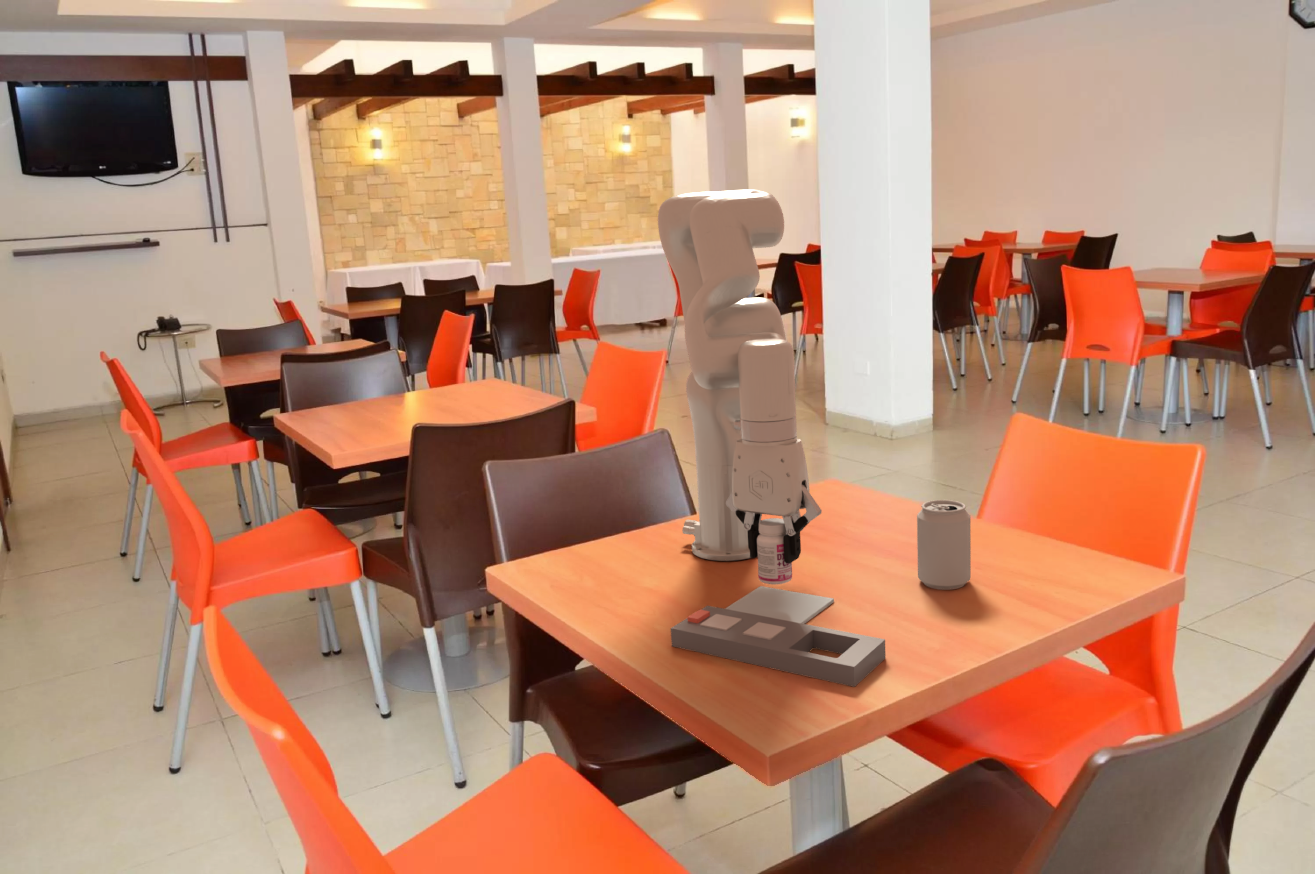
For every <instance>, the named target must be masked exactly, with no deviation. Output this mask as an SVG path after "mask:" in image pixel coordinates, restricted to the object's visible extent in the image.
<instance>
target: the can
mask: <svg viewBox="0 0 1315 874" xmlns="http://www.w3.org/2000/svg"><path fill="white" fill-rule="evenodd" d="M920 507H921V510H920V511H919V512H917V515H916V528H917V529H916V530H917V531H916V533H917V534H916V537H917V538H916V539H917V545H916V546H917V547H916V548H917V578H918V579H919V581H921V583H923V584H924V585H925V586H926V587H927V588H931V589H936V590H945V591H946V590H949V591H950V590H956V589H960V588H963V587H964V586H965V585H966V584H967V583H968V582H969V581H971V569H972V568H971V567H972V566H971V557H972V556H971V555H972V553H971V552H972V551H971V548H972V547H971V544H972V543H971V537H972V536H971V514H970V513H969V512H968V511H967V509H966V508H967V506H966V504H965V503H963V502H961V501H957V500H951V499H935V500H930V501H929V500H928V501H925V502H924V503H922V504H921V506H920Z"/></svg>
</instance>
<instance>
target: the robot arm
mask: <svg viewBox="0 0 1315 874" xmlns="http://www.w3.org/2000/svg"><path fill="white" fill-rule="evenodd" d="M657 227H658V228H657V229H658V234H659V239H660V244H661V247H662V249H663V252H664V255H665V257H666V259H667V261H668V265H669V266H670V267H671V270H672V272H673V274H674V275H675V278H676V281H677V283H678V289H679V295H680V302H681V307H682V308H681V309H682V314H683V315H682V316H683V322H684V339H685V345H686V349H687V350H686V351H687V355H688V359H689V364H690V368H691V372H690V373H689V375H688V377H687V379H686V382H685V392H686V393H685V394H686V398H687V403H688V404H687V405H688V408H689V413H690V417H691V418H690V419H691V423H692V431H693V437H694V449H695V451H694V452H695V453H694V454H695V463H696V464H695V465H696V466H695V467H696V468H695V469H696V480H697V481H696V485H697V500H698V519H699V521H697V520H695V519H693V520H692V519H686V520H685V521H684V523H683V527H682V534H684V535H693V536H694V540H693V542H692V543H691V552H692V554H693V555H695V556H696V557H698V558H701V559H705V560H710V561H717V562H719V561H720V562H732V561H742V560H748V559H756V558H758V553H757V537H758V535H759V534H760V533H759V522H760V521H761V520H762V517H763V515H769V516H776V517H777V516H778V517H782V519H783V520H784V524H785V528H786V531H787V534H786V535H785V536H784V537H783V542H784V561H785V562H786V563H789V564H790V563H791V562H792V563H793V562H795V561H796V560H798V559H799V558H800V555H801V551H802V545H801V532H802V531H803V530H804V529H805V528H806V526H808V524H809V523H810V522H812V521H813V520H814V519H816V518H817V517H818V516H820V515H821V514H822V513H823V512H822V509H821V507H820V506H819V505H818V503H817V501H816V500H815V499H814V497H813V496H812V494H811V493H810V482H809V481H810V480H809V472H808V465H807V464H808V463H807V460H806V454H805V450H804V446H803V443H802V440H801V438H798V433H797V430H798V429H797V407H796V406H797V405H796V404H797V403H796V383H795V379H796V378H795V376H796V375H795V359H794V348H793V346H792V343H791V342H789V341H788V340H787V339H786V338H787V337H786V332H785V327H784V322H783V318H782V316H781V312H780V309H779V308H778V306H777V305H776V303H775V302H774V301H772V300H771V299H769V298H765V297H759V296H758V297H755V296H754V297H748V296H750V295H751V294H752V293H753V292H754V291H755V290H756V289H757V286H758V285H759V281H760V271H759V266H758V264H757V260H756V256H755V253H754V249H762V248H772V247H776V246H777V245H779V243H780V242H781V240H782V239H783V236H784V232H785V217H784V214H783V209H782V206H781V204H780V203H779V201H778V199H777V198H776V197H775V196H774V195H773V194H771V193H770V192H766V191H762V190H759V189H734V190H731V189H730V190H721V191H720V190H719V191H717V190H716V191H700V192H697V191H696V192H687V193H682V194H677V195H674V196H671V197H669V198H667V199H665V200H664V201H663V202H662V203H661V204H660V206H659V209H658V213H657ZM804 509H805V510H806V511H805V513H804V514H803V515H801V512H800V510H804Z"/></svg>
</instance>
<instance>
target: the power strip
mask: <svg viewBox="0 0 1315 874" xmlns="http://www.w3.org/2000/svg"><path fill="white" fill-rule="evenodd" d="M670 636H671V637H670V639H671V647H675V648H678V649H682V650H687V651H693V652H696V653H701V654H706V655H710V656H715V657H718V658H724V659H727V660H728V659H729V660H732V661H737V662H741V663H746V664H750V665H754V666H755V665H756V666H758V667H759V666H760V667H764V668H769V669H774V670H778V671H781V672H782V671H783V672H786V673H791V674H795V675H801V676H805V677H808V678H814V679H818V680H823V681H828V682H831V683H837V684H840V685H844V686H850V687H854V688H855V687H856V686H857V685H858V684H859V683H861V682H862V681H863V680H864V679H865V678H866V677H867V676H868V675H869V674H870V673H871V672H872V671H874V670H875V669H876V668H877V667H878V666H879V665H880V664H882V662H883V661H884V660H885V659H886V639H885V638H880V637H875V636H869V635H864V634H859V633H854V632H850V631H849V632H848V631H843V630H838V629H833V628H827V627H822V626H818V625H812V624H807V623H805V624H802V623H797V622H792V621H786V620H781V619H776V618H771V617H765V616H760V615H755V614H750V613H744V612H739V611H734V610H729V609H725V608H722V607H718V606H712V605H706V606H705V607H703V608H701V609H698V610H697V611H695V612H693V613H692V614H690V615H688V616H687V617H686V618H684V619H683V620H681V622H679V623H677V624H674V626H672V627H671V628H670ZM814 649H817V650H821V651H825V652H826V651H827V652H830V653H831V652H832V653H835V654H840V656H838V657H831V656H827V655H822V654H817V653H812V652H811V651H812V650H814Z"/></svg>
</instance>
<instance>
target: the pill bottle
mask: <svg viewBox="0 0 1315 874" xmlns="http://www.w3.org/2000/svg"><path fill="white" fill-rule="evenodd" d="M759 533H760V534H759V535H758V537H757V553H758V557H757V567H758V568H757V572H758V573H757V575H758V577H757V578H758V580H759V581H760V582H761V583H762V584H763V583H764V584H767V585H774V586H775V585H782V584H783V585H784V584H786V583H788V582H790V581H792V579H793V564H792V563H793V562H791V563H790V564H789V563H786V562H785V561H784V542H783V537H784V536H785V535H786V534H787V531H786V528H785V524H784V520H783V518H777V517H775V518H774V517H773V518H772V517H770V518H765V519H761V521H760V522H759Z"/></svg>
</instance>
